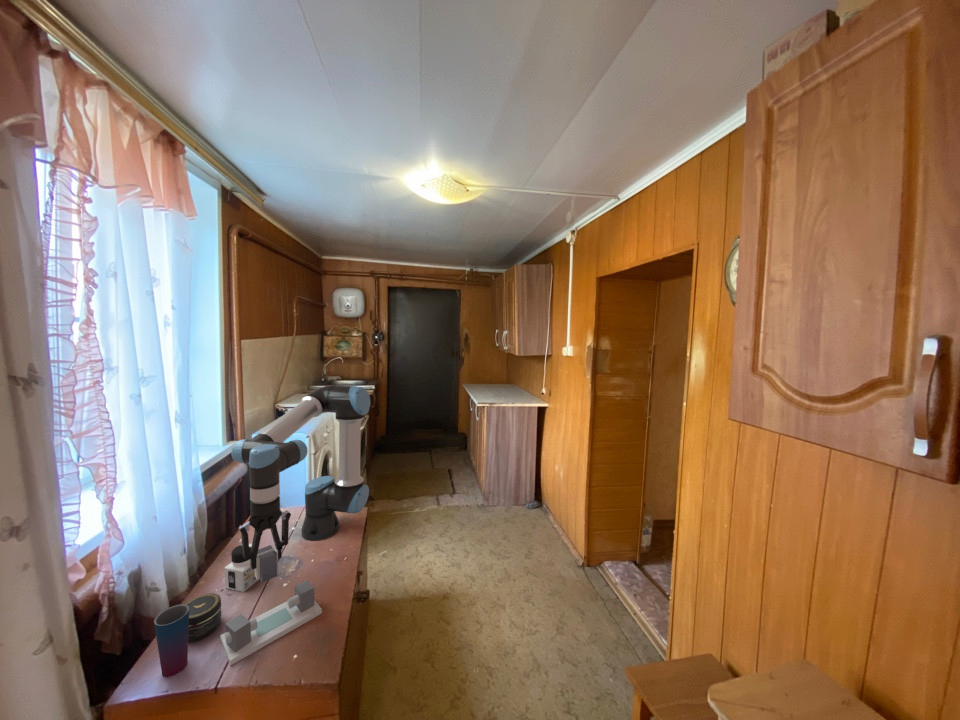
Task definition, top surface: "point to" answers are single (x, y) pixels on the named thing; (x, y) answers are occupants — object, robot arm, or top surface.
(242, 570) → the container
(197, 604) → the jar
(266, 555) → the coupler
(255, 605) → the top surface
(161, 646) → the cup
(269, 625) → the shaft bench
